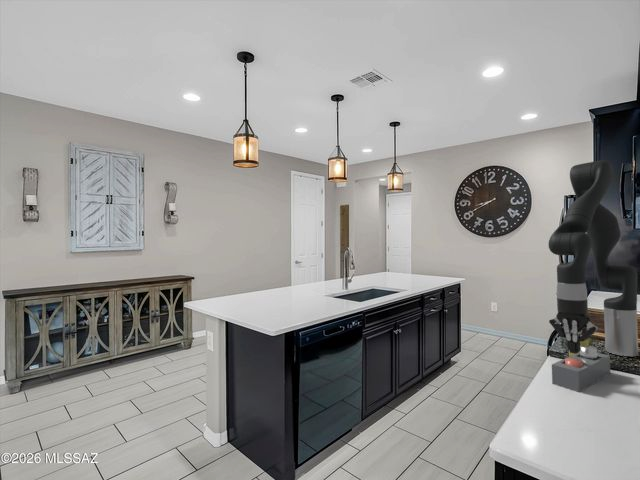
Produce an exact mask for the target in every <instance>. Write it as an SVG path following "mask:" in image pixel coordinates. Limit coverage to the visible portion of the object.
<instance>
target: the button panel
mask: <svg viewBox="0 0 640 480" xmlns="http://www.w3.org/2000/svg"><path fill="white" fill-rule="evenodd" d="M567 358H573V359H578V360H581V361H583V367H581V368H578V367H574V366H570V365H567V364H565V359H567ZM610 375H611V355H610V354H609V355H608V354H603V353H599V352H597V360H595V361H594V360H590V359H586V358H582V357H580V352H579V353H577V354H574V355H572V356H569V355H568V356H567V357H565V358H563V359H561V360H558V361H556V362H554V363H552V364H551V377H552V378H551V380H552V381H551V382H552V383H551V384H552V385H555V386H559V387H562V388H565V389H567V390H568V389H569V390H571V391H573V392H576V393H580V392H582V391H585V389H587V388H588V387H591V386H592V385H594V384H596V383H598V382H599V381H602V379H605V378H606V377H608V376H610Z"/></svg>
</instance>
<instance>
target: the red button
mask: <svg viewBox="0 0 640 480" xmlns="http://www.w3.org/2000/svg"><path fill="white" fill-rule="evenodd" d="M566 358H567V357H566ZM564 359H565V358H564ZM565 364H567V365H570V366H574V367H578V368H581V367H583V361H581V360H578V359H573V358H567V359H565Z"/></svg>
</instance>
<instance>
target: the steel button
mask: <svg viewBox="0 0 640 480" xmlns="http://www.w3.org/2000/svg"><path fill="white" fill-rule="evenodd" d="M597 353H598V347H595V346H592V345H591V346H588V345H581V346H580V357H582V358H586V359H590V360H594V361H595V360H597Z"/></svg>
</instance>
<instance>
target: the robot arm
mask: <svg viewBox="0 0 640 480" xmlns="http://www.w3.org/2000/svg"><path fill="white" fill-rule="evenodd" d="M613 179H614V168H613V165H612V163H611V162H610V161H609V160H607V159H606V160H605V159H602V160H595V161H590V162H585V163H579V164H575V165H573V166H571V167H570V171H569V180H570V183H571V187H572V190H573V192H574V195H575V197H576V199H575V200H574V201H573V202H572V203H571V204H570V206H569V207H568V209H567V210H566V213H565V216H564V218H563V221H562V222H561V223H560V224H559V226H558V227H557V228H556V229H555V230H554V232H553V233H552V234H551V235H550V237H549V240H548V249H549V251H550V252H551V253H552V254H554V255H557V256H574V258H573V260H572V261H569V262H563V263H559V264H558V265H557V266H556V277H557V279H556V281H557V283H556V293H555V294H556V301H557V302H556V305H557V306H556V307H557V314H556V317H554V318H552V319H549V321H548V323H549V324H550V325H551V327H552V328H553V329H554V331H556V333H557V334H558V335H559V337H561V338H564V339H566V341H567V350H568V352H569V351H570V353H574V354H577V353H578V352H580V341H585V340H587V339H588V338H589V337H590V338H591V337H592V336H593V335H594V334H595V333H596V332H597V331H598V330H599V329H600V327H599V326H598V325H596V324H594V323H592V322H591V319H590V317H589V305H588V289H587V283H586V282H587V281H586V267H587V261H588V258H589V256H590V252H591V251H592V255H593V262H594V266H595V274H596V278H597V282H598V285H599V286H600V287H601V289H602V288H603V289H605V290H614V291H622V294H620V295H619V296H614V297H608V298H605V299H604V300H603V315H604V316H603V317H604V345H605V346H604V349H605V350H606V351H607V352H609V353H612V354H618V355H624V356H638V357H639V335H638V332H639V331H638V309H637V308H638V306H637V305H638V271H637V269H636V268H635V267H634V266H633V265H632V266H631V265H619V264H617V265H615V264H613V265H612V264H610V263H609V256H610V255H611V253H612V251H613V250H614V248H615V247H616V245H617V244H618V242H620V241H619V240H620V239H621V233H622V232H621V230H620V229H621V228H620V225H619V222H618V221H619V220H618V218H617V216H616V215H615V214H614V213H613V212H612V211H610V209H608V208H607V207H605V206H604V205H603V204H602V203H601V202H602V200H603V198H604V197H605V195H606V193H607V192H608V189H609V188H610V186H611V185H612V183H613ZM586 326H587V330H588V331H587V332H586V333H584V334H583V335H582V336H581V333H582V329H584V328H585V327H586ZM606 351H605V352H606ZM607 352H606V353H607ZM609 353H608V354H609Z"/></svg>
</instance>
